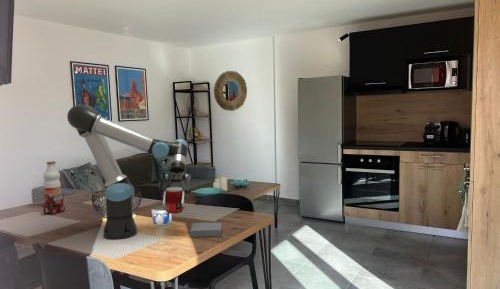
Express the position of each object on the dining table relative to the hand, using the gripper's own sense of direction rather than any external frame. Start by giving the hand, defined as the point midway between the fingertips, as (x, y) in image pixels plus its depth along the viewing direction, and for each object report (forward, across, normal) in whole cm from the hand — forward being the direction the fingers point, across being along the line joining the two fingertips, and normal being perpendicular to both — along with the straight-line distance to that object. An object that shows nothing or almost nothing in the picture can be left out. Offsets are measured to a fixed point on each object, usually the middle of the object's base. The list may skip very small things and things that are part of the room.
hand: (173, 204), depth 170 cm
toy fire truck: (-22, +77, -45) cm, 92 cm away
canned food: (+1, 0, -6) cm, 6 cm away
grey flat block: (+8, -15, -13) cm, 21 cm away
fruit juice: (-34, +86, -58) cm, 109 cm away
